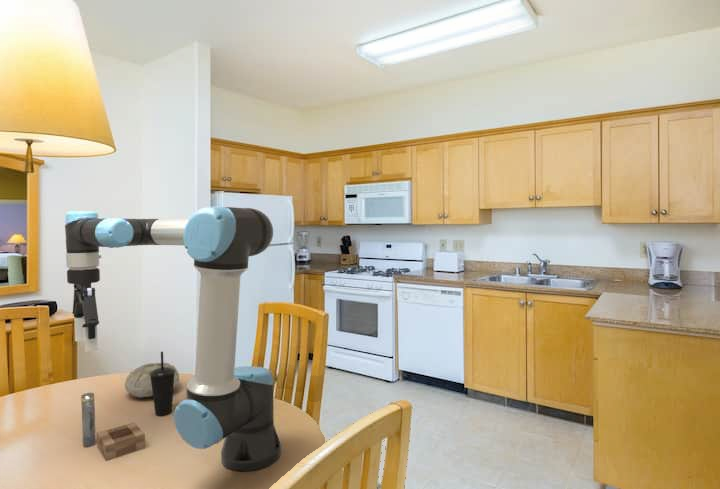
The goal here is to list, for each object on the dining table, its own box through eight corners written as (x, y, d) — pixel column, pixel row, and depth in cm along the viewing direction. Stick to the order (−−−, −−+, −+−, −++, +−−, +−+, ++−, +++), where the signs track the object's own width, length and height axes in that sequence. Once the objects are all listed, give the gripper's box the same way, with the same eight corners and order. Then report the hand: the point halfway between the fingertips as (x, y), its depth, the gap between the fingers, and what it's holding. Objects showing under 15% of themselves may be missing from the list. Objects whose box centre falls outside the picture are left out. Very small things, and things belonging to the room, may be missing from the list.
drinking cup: (145, 415, 139) (143, 353, 138) (165, 406, 146) (164, 347, 145) (161, 420, 136) (159, 356, 135) (181, 410, 142) (180, 350, 141)
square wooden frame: (145, 448, 119) (144, 433, 118) (106, 460, 112) (105, 445, 112) (134, 435, 126) (134, 422, 125) (97, 447, 119) (97, 432, 119)
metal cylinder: (97, 444, 121) (95, 394, 120) (84, 448, 119) (82, 397, 118) (94, 440, 123) (92, 391, 122) (81, 444, 121) (80, 394, 120)
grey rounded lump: (175, 400, 151) (174, 372, 150) (118, 405, 147) (117, 376, 146) (183, 382, 168) (182, 356, 168) (133, 386, 164) (132, 360, 164)
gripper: (110, 270, 112) (112, 352, 113) (89, 264, 130) (91, 334, 131) (76, 272, 107) (78, 358, 108) (59, 265, 125) (61, 338, 126)
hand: (85, 345), depth 120 cm, fingers open, 13 cm apart
